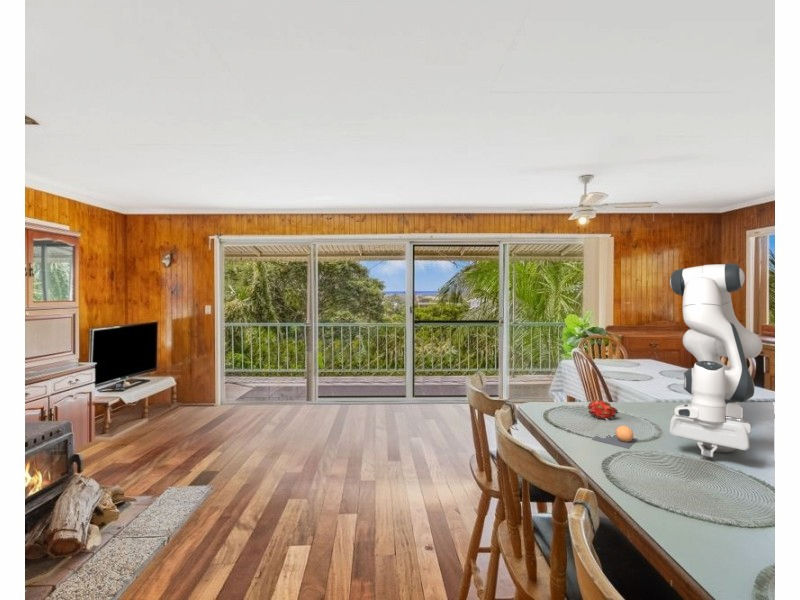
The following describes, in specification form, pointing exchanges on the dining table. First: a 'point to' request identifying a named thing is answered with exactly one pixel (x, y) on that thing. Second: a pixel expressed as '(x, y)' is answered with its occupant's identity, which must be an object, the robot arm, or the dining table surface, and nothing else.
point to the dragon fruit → (602, 409)
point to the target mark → (615, 441)
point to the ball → (624, 433)
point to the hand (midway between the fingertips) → (707, 455)
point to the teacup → (719, 447)
